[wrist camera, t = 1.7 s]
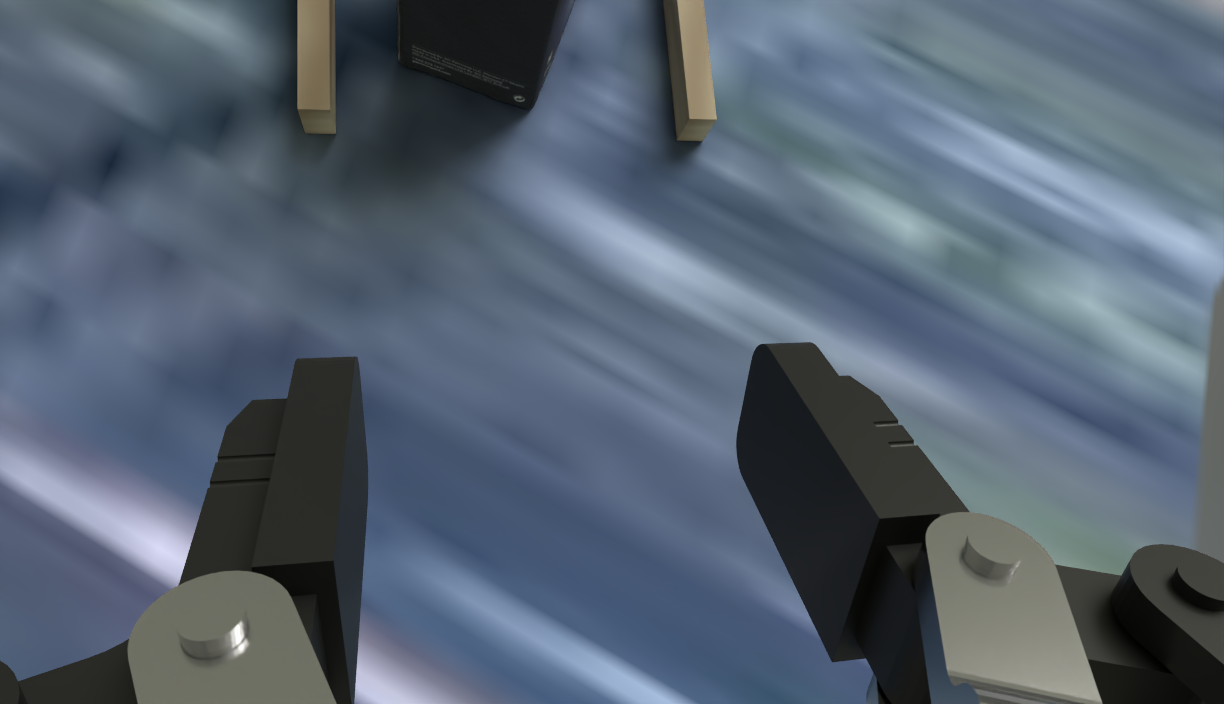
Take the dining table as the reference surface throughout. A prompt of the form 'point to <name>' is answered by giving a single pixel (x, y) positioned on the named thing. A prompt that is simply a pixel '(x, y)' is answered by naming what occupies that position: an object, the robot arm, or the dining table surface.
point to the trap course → (683, 51)
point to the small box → (484, 43)
